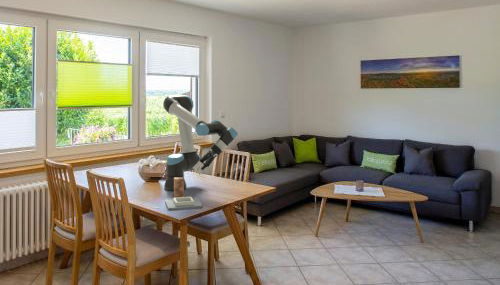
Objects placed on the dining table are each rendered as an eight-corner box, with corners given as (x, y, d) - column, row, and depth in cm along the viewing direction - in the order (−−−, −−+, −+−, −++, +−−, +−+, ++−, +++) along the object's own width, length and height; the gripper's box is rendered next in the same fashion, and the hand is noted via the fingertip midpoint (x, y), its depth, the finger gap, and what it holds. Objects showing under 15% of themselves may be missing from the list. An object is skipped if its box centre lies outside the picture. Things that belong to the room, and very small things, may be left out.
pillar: (175, 197, 254) (174, 179, 253) (174, 195, 260) (173, 177, 258) (183, 197, 256) (183, 178, 255) (182, 195, 261) (182, 177, 260)
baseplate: (168, 210, 228) (168, 204, 228) (164, 201, 245) (164, 196, 245) (203, 207, 234) (203, 202, 234) (197, 199, 251) (197, 194, 251)
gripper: (227, 153, 251) (203, 179, 248) (218, 148, 275) (196, 171, 272) (218, 145, 249) (195, 170, 246) (210, 141, 272) (188, 164, 270)
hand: (195, 171), depth 259 cm, fingers open, 13 cm apart
